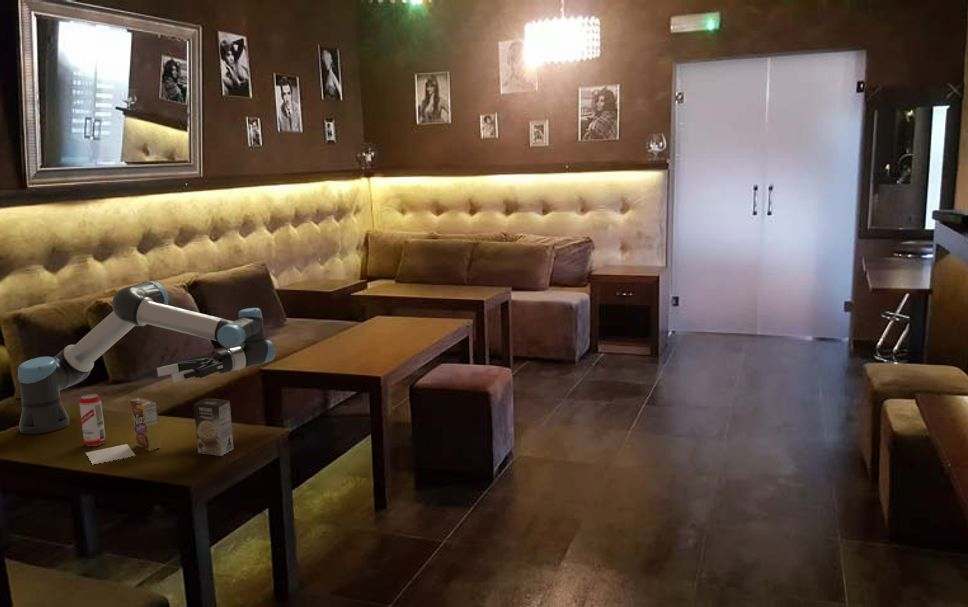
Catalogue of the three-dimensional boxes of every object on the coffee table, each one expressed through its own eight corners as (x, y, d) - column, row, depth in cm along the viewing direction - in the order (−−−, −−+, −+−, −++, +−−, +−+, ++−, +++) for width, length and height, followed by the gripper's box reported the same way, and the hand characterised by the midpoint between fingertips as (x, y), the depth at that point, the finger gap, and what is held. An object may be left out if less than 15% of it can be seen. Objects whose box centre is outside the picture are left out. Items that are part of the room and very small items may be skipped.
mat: (85, 453, 246) (85, 452, 246) (127, 445, 253) (127, 443, 253) (92, 465, 237) (92, 464, 236) (135, 456, 243) (135, 454, 243)
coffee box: (196, 453, 244) (191, 403, 241) (210, 446, 250) (205, 397, 247) (222, 456, 241) (217, 405, 238) (235, 449, 247) (230, 399, 244)
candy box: (134, 445, 252) (129, 399, 249) (147, 442, 255) (142, 396, 253) (148, 452, 246) (143, 404, 244) (161, 447, 250) (156, 401, 247)
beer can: (97, 447, 251) (91, 399, 248) (80, 446, 253) (74, 398, 250) (110, 440, 257) (104, 393, 254) (93, 440, 259) (87, 392, 256)
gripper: (246, 376, 257) (180, 392, 243) (216, 366, 275) (153, 381, 262) (242, 353, 255) (177, 369, 242) (212, 345, 274) (150, 359, 261)
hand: (164, 375), depth 252 cm, fingers open, 13 cm apart
